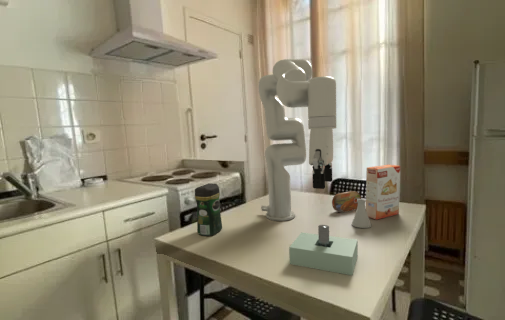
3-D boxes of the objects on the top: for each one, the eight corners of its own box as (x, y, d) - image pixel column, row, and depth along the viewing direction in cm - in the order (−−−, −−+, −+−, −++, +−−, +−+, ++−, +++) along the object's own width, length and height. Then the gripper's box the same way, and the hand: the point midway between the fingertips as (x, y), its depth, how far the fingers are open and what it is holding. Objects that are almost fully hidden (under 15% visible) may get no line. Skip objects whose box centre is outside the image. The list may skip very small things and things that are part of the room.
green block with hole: (289, 263, 81) (289, 247, 80) (301, 247, 92) (301, 232, 91) (352, 275, 73) (352, 257, 73) (357, 255, 84) (357, 239, 84)
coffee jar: (208, 226, 115) (205, 181, 113) (225, 228, 111) (222, 182, 109) (193, 235, 106) (190, 186, 104) (211, 238, 103) (208, 187, 101)
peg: (317, 261, 82) (317, 227, 81) (320, 256, 85) (319, 224, 83) (328, 262, 81) (327, 228, 79) (330, 258, 83) (330, 225, 82)
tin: (335, 214, 124) (335, 195, 123) (330, 212, 127) (330, 193, 126) (361, 208, 130) (361, 190, 129) (356, 207, 133) (356, 189, 132)
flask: (373, 229, 105) (373, 202, 103) (353, 228, 106) (352, 202, 105) (369, 222, 112) (369, 197, 110) (350, 222, 113) (349, 197, 112)
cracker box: (377, 220, 113) (377, 168, 111) (365, 216, 118) (365, 167, 116) (400, 214, 119) (401, 165, 117) (387, 210, 125) (388, 163, 122)
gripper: (316, 123, 87) (317, 178, 89) (299, 124, 72) (301, 190, 74) (341, 122, 84) (341, 179, 86) (329, 123, 69) (330, 192, 71)
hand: (323, 184), depth 80 cm, fingers open, 9 cm apart
